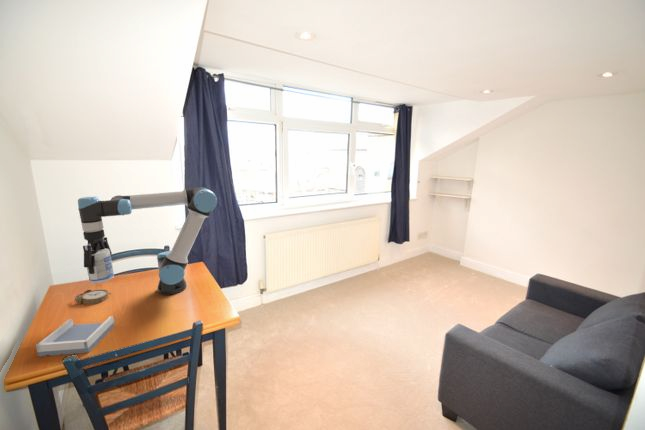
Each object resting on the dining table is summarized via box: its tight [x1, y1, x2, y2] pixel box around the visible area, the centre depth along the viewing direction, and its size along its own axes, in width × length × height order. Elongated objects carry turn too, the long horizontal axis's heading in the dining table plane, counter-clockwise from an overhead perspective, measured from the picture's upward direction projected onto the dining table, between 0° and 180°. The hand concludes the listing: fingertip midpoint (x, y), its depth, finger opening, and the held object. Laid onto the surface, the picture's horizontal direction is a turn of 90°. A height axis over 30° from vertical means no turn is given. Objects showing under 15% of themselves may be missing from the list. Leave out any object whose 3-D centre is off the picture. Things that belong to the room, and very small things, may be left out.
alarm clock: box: [74, 288, 112, 306], centre depth 152 cm, size 11×5×15 cm
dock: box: [35, 315, 115, 357], centre depth 119 cm, size 18×18×5 cm
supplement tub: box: [86, 248, 115, 285], centre depth 134 cm, size 10×10×15 cm
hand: (101, 274), depth 135 cm, fingers closed on supplement tub, 10 cm apart
